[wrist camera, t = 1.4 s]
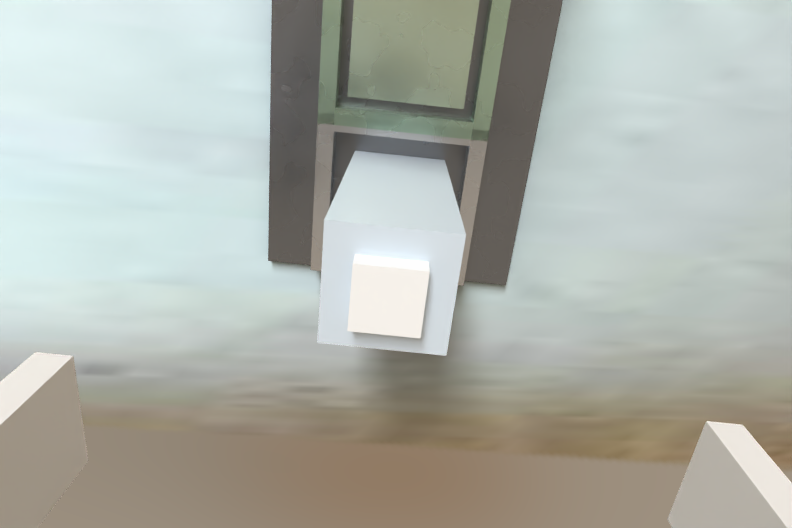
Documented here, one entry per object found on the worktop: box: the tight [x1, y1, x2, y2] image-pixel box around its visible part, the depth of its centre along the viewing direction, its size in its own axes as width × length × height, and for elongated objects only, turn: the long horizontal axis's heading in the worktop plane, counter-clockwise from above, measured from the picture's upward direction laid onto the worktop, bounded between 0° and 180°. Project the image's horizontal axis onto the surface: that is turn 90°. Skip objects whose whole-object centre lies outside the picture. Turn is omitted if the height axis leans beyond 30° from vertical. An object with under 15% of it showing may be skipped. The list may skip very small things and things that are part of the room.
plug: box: [317, 150, 466, 356], centre depth 23 cm, size 4×4×12 cm
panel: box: [268, 0, 563, 286], centre depth 27 cm, size 13×16×2 cm
